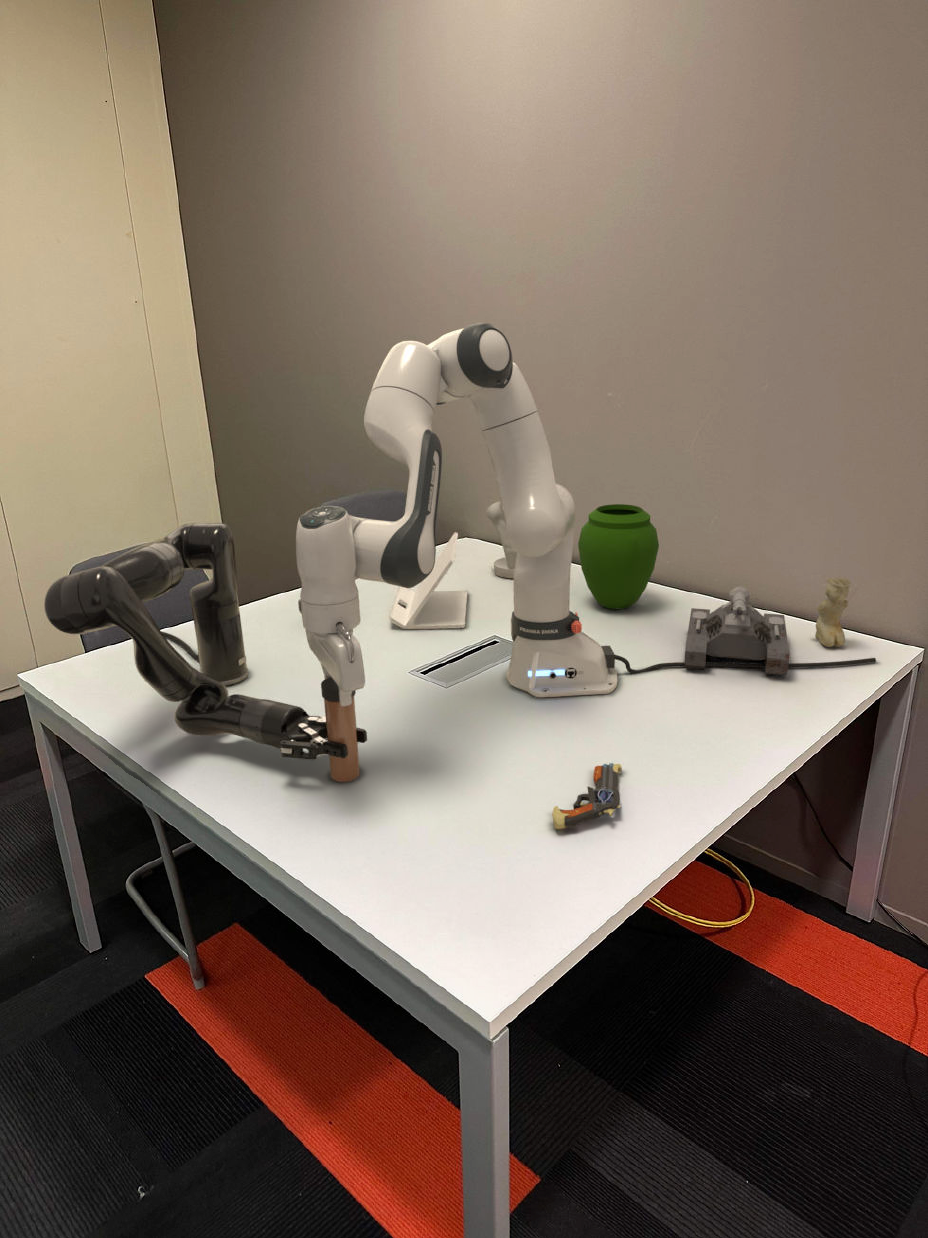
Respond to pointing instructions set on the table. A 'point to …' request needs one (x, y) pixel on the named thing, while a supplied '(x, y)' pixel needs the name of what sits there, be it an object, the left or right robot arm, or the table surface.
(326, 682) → the lid
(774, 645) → the toy
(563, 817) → the toy gun
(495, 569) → the bust sculpture
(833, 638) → the sculpture
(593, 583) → the vase
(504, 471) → the right robot arm
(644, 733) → the table surface
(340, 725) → the jar
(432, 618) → the tablet stand
